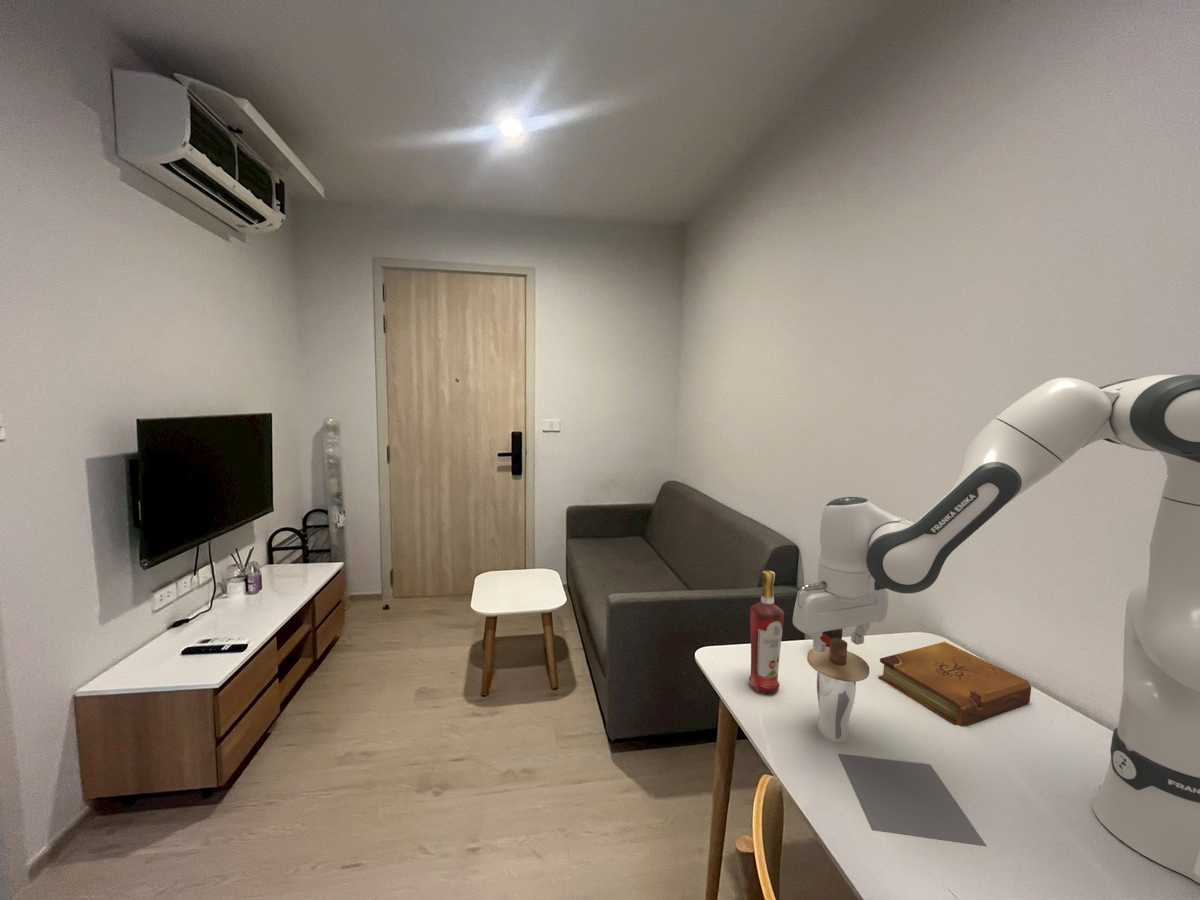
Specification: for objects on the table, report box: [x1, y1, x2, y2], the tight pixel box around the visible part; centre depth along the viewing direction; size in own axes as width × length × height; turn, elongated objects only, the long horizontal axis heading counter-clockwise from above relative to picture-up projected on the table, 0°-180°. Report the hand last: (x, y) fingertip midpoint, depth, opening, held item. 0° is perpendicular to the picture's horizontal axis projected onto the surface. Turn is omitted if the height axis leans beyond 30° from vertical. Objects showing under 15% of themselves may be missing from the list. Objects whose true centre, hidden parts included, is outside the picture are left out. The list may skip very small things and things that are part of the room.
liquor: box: [748, 570, 785, 694], centre depth 108 cm, size 7×7×28 cm
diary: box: [878, 641, 1032, 727], centre depth 109 cm, size 23×19×6 cm
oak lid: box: [806, 638, 871, 683], centre depth 92 cm, size 11×11×5 cm
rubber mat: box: [837, 753, 987, 847], centre depth 79 cm, size 16×16×1 cm
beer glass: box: [816, 671, 857, 744], centre depth 94 cm, size 7×7×15 cm
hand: (838, 646), depth 92 cm, fingers open, 8 cm apart
